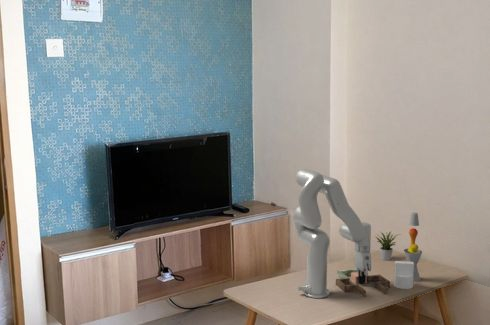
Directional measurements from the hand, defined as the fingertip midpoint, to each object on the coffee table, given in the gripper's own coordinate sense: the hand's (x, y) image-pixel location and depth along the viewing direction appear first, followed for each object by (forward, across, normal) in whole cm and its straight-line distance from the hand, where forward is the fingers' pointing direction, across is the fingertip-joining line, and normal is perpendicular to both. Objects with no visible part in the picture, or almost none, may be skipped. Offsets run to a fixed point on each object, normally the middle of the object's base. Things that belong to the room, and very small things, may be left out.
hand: (361, 282), depth 287 cm
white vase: (+2, -6, -20) cm, 21 cm away
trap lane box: (+1, 0, 0) cm, 1 cm away
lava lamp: (+2, +1, -29) cm, 29 cm away
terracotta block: (+1, +5, -1) cm, 5 cm away
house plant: (+2, +34, -33) cm, 48 cm away
